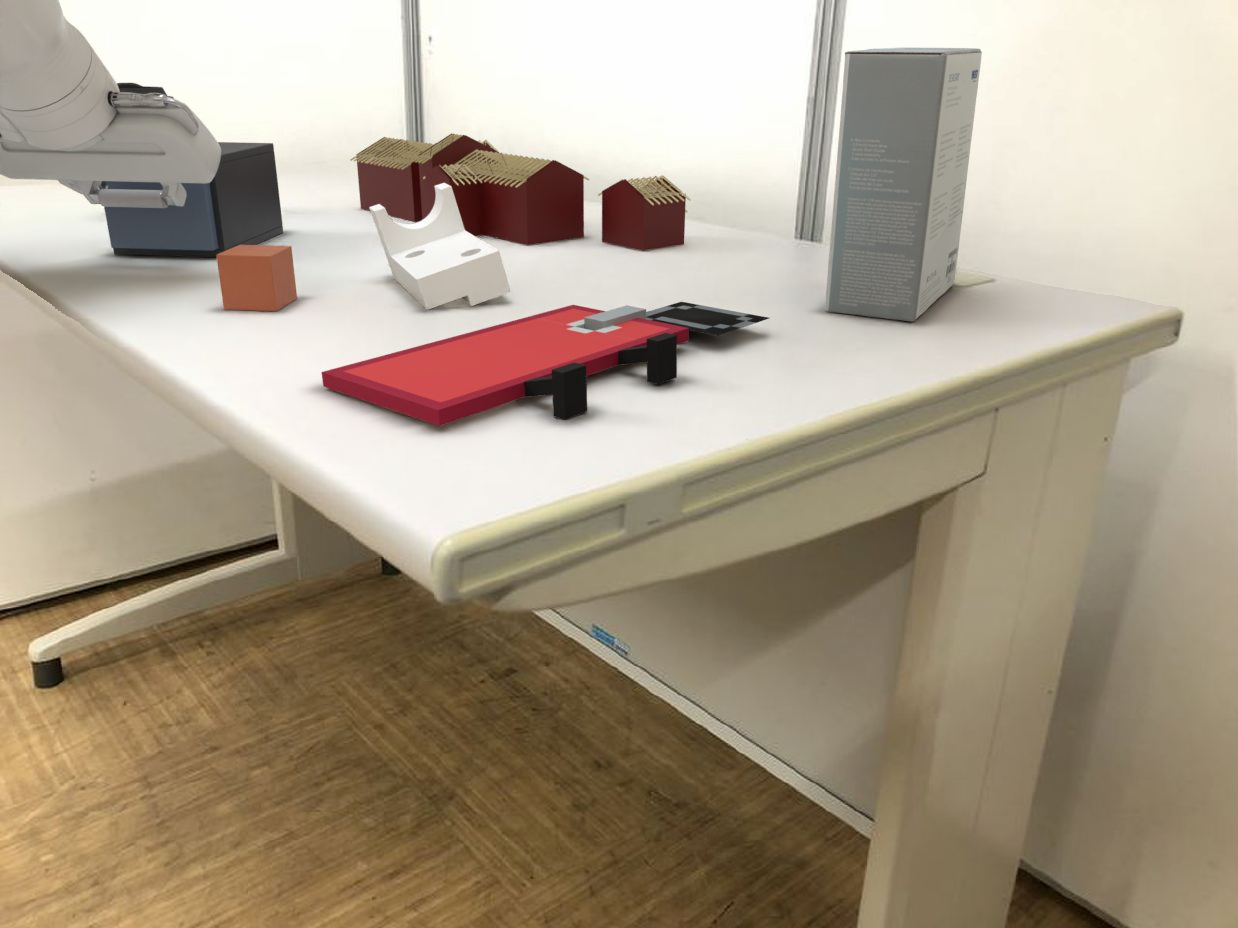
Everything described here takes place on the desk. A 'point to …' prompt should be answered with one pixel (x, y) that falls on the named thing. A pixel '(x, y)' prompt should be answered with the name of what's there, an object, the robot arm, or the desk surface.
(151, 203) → the drawer
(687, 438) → the desk surface
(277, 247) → the block
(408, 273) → the bracket
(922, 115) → the hard drive box
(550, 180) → the toy houses
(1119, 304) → the desk surface
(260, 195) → the cabinet
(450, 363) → the red board with handle
